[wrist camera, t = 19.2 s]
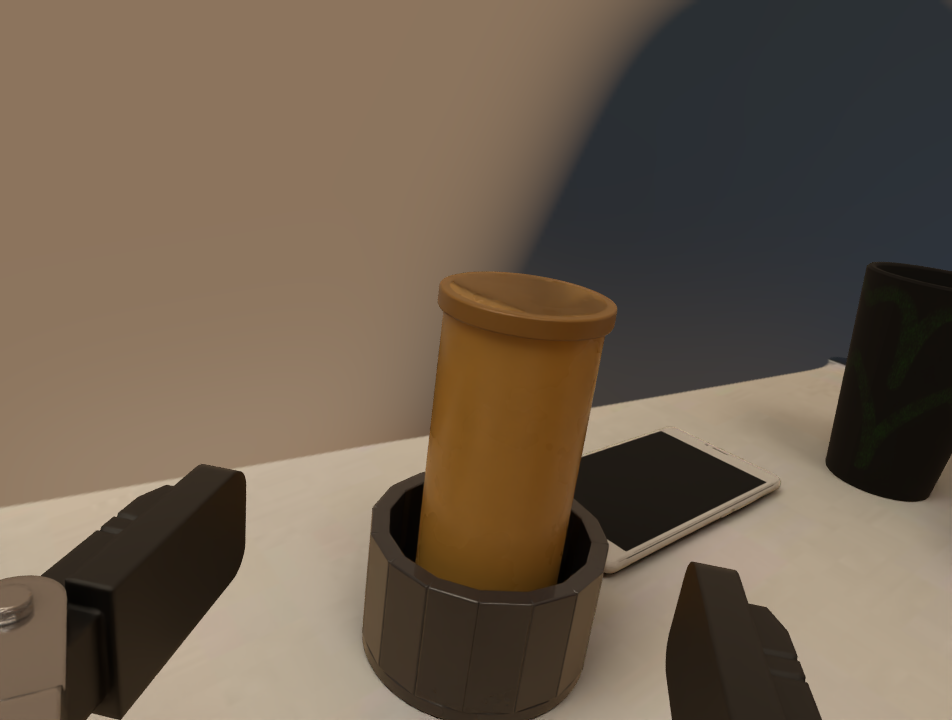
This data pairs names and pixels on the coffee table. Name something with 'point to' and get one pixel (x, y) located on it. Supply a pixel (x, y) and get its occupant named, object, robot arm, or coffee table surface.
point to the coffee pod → (508, 426)
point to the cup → (897, 384)
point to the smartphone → (663, 490)
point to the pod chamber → (475, 622)
